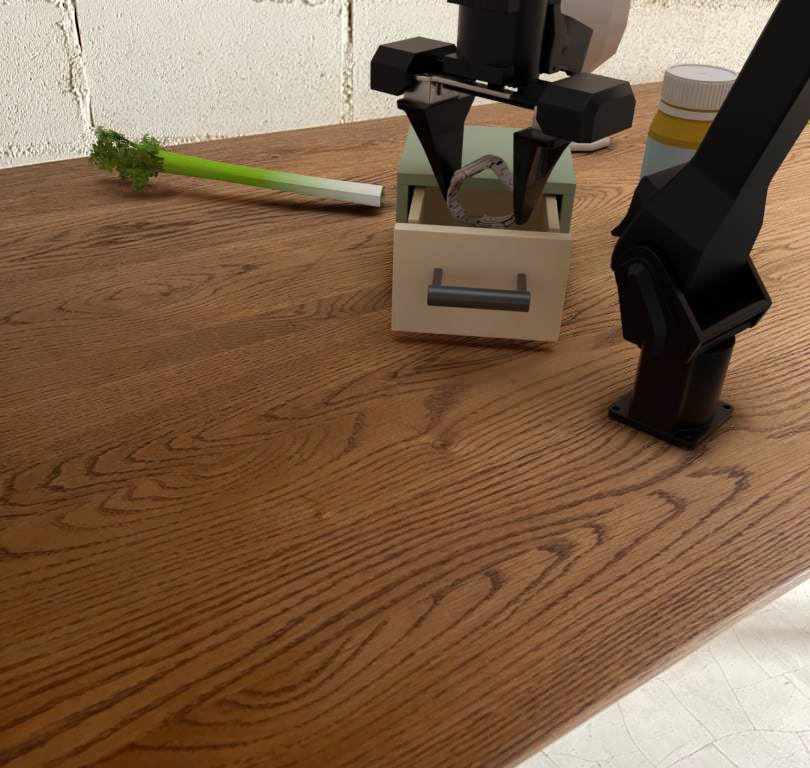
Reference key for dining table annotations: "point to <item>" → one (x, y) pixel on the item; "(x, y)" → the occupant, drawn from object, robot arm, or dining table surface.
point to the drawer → (479, 269)
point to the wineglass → (598, 39)
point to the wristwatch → (468, 171)
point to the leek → (215, 170)
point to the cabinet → (475, 146)
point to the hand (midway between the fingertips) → (485, 212)
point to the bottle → (684, 113)
